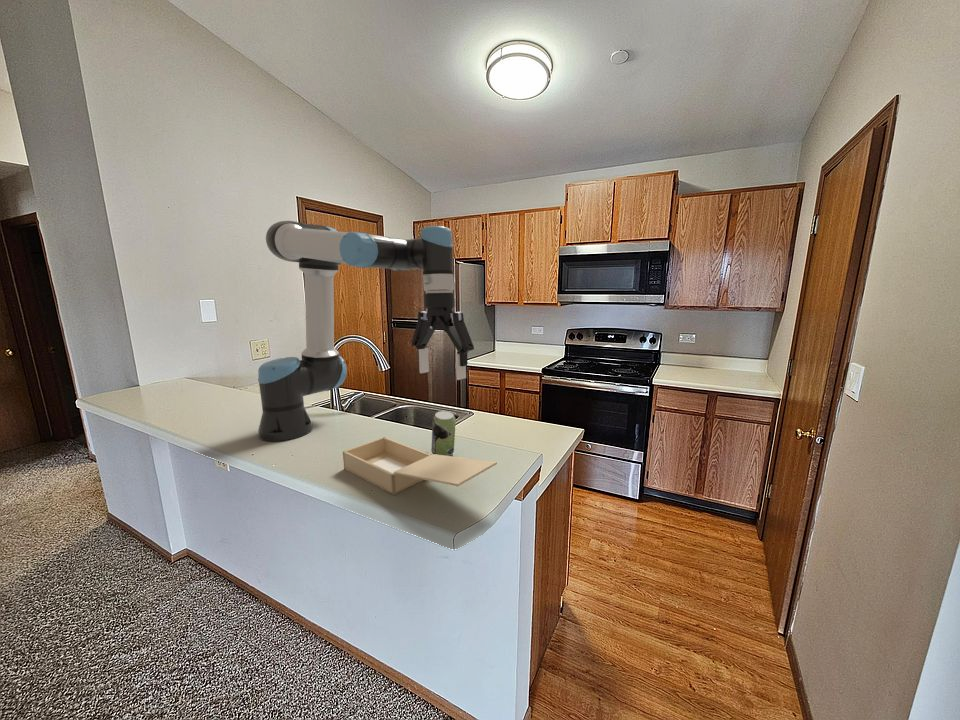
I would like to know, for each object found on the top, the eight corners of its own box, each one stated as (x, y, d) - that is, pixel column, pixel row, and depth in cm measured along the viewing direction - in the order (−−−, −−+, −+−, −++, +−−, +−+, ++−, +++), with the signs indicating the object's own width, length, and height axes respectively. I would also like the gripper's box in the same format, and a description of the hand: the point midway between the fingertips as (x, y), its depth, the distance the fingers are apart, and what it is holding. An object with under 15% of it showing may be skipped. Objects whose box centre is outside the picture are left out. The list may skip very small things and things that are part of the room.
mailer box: (344, 468, 94) (342, 451, 93) (385, 452, 104) (384, 436, 103) (393, 495, 82) (392, 475, 81) (435, 474, 91) (434, 456, 90)
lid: (457, 484, 68) (458, 486, 68) (496, 462, 77) (497, 464, 77) (393, 471, 81) (394, 474, 81) (433, 454, 90) (433, 456, 90)
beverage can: (444, 448, 106) (443, 407, 104) (461, 455, 101) (460, 412, 99) (426, 455, 102) (424, 412, 100) (443, 463, 97) (442, 418, 95)
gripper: (395, 293, 99) (400, 372, 103) (466, 291, 83) (468, 384, 87) (417, 293, 105) (421, 368, 108) (487, 291, 89) (488, 378, 92)
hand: (442, 375), depth 97 cm, fingers open, 13 cm apart
